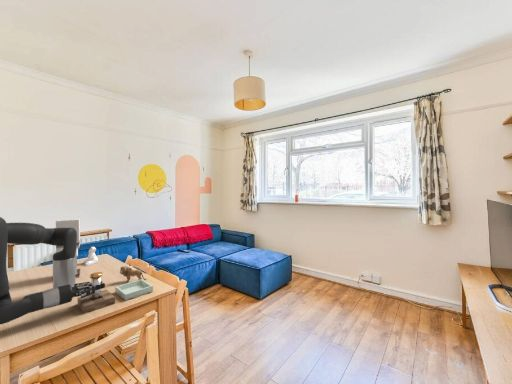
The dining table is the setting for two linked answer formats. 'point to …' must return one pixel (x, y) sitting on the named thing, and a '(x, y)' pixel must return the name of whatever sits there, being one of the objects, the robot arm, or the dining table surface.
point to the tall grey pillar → (76, 226)
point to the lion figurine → (130, 273)
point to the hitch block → (96, 302)
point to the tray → (133, 289)
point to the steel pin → (95, 281)
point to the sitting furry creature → (91, 257)
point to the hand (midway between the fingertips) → (103, 284)
